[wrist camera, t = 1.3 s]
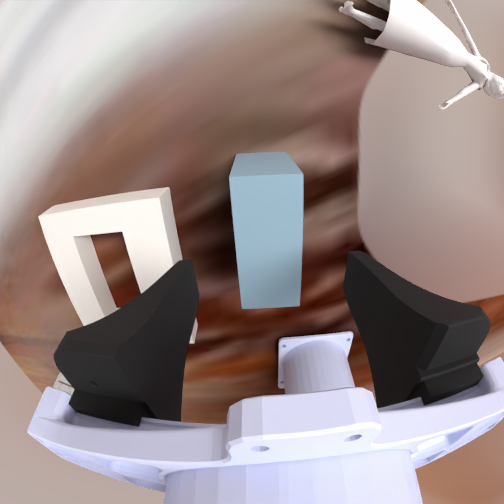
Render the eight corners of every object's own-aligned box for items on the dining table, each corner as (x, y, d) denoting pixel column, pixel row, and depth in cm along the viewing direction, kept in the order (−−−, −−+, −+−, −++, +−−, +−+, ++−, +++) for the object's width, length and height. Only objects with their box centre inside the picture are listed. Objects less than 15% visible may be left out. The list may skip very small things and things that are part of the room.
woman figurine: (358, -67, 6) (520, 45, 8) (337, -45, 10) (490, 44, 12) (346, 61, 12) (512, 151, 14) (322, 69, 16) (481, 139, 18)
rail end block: (287, 250, 23) (299, 305, 16) (244, 252, 23) (242, 309, 17) (285, 151, 19) (303, 173, 13) (236, 153, 19) (229, 177, 13)
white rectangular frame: (197, 325, 27) (194, 343, 24) (98, 321, 27) (90, 337, 25) (169, 187, 20) (159, 197, 18) (53, 205, 20) (38, 216, 18)
